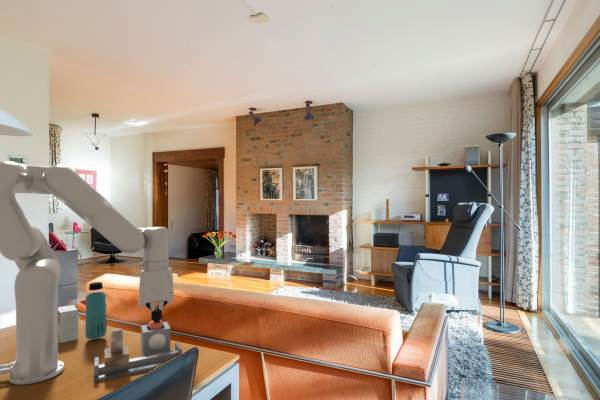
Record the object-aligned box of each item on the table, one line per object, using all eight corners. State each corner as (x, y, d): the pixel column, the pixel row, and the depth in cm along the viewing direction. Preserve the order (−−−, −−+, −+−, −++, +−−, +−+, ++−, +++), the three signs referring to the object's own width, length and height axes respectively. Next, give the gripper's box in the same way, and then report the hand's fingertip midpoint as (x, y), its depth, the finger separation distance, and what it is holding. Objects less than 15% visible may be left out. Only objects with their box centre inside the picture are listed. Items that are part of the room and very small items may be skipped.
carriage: (104, 369, 97) (104, 336, 97) (104, 359, 104) (104, 328, 104) (129, 364, 100) (129, 332, 100) (127, 354, 106) (127, 324, 106)
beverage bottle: (97, 344, 121) (97, 285, 121) (80, 342, 122) (80, 284, 122) (110, 337, 127) (111, 281, 127) (94, 335, 129) (95, 280, 129)
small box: (55, 336, 127) (55, 307, 127) (73, 332, 131) (73, 304, 131) (59, 343, 122) (59, 312, 122) (78, 339, 125) (78, 309, 125)
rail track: (94, 382, 96) (94, 367, 96) (94, 370, 103) (94, 356, 103) (182, 363, 107) (182, 350, 107) (177, 353, 114) (177, 341, 114)
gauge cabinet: (143, 359, 110) (143, 333, 110) (140, 350, 117) (141, 325, 117) (170, 353, 114) (170, 328, 114) (166, 345, 120) (166, 321, 120)
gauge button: (149, 334, 113) (149, 324, 113) (148, 330, 116) (148, 321, 116) (163, 332, 115) (163, 322, 115) (161, 328, 118) (161, 319, 118)
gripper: (131, 269, 109) (131, 329, 109) (182, 264, 116) (182, 321, 116) (129, 265, 115) (130, 322, 115) (178, 261, 122) (178, 314, 122)
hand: (156, 321), depth 116 cm, fingers closed
